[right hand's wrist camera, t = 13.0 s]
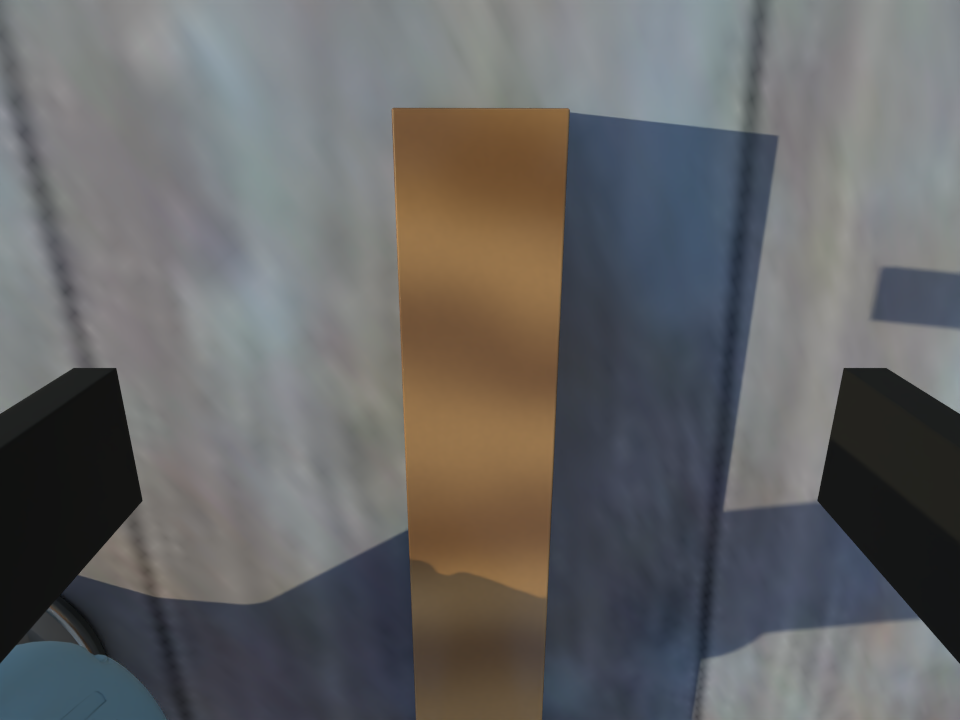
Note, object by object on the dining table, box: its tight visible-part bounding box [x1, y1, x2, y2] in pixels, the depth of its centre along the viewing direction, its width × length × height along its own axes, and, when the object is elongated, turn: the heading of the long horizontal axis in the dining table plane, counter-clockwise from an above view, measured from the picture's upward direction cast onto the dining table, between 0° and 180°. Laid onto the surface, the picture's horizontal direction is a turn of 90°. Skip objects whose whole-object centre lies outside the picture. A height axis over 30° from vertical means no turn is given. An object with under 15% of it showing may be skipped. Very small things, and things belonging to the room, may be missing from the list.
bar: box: [392, 108, 570, 720], centre depth 37 cm, size 62×6×8 cm, turn 0°
